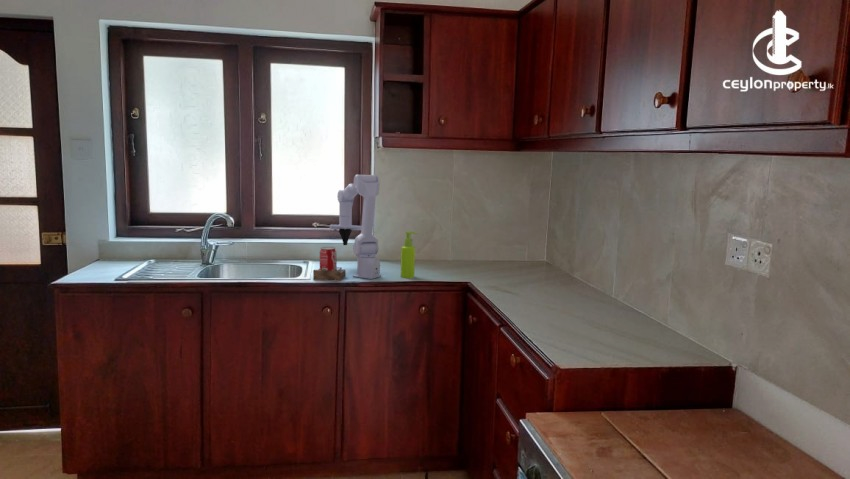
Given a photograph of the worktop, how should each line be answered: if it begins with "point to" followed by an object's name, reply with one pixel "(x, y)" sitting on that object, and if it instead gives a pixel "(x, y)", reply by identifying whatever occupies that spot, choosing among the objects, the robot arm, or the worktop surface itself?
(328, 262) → the soda can
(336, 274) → the walnut tray
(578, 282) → the worktop surface
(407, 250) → the soap dispenser
